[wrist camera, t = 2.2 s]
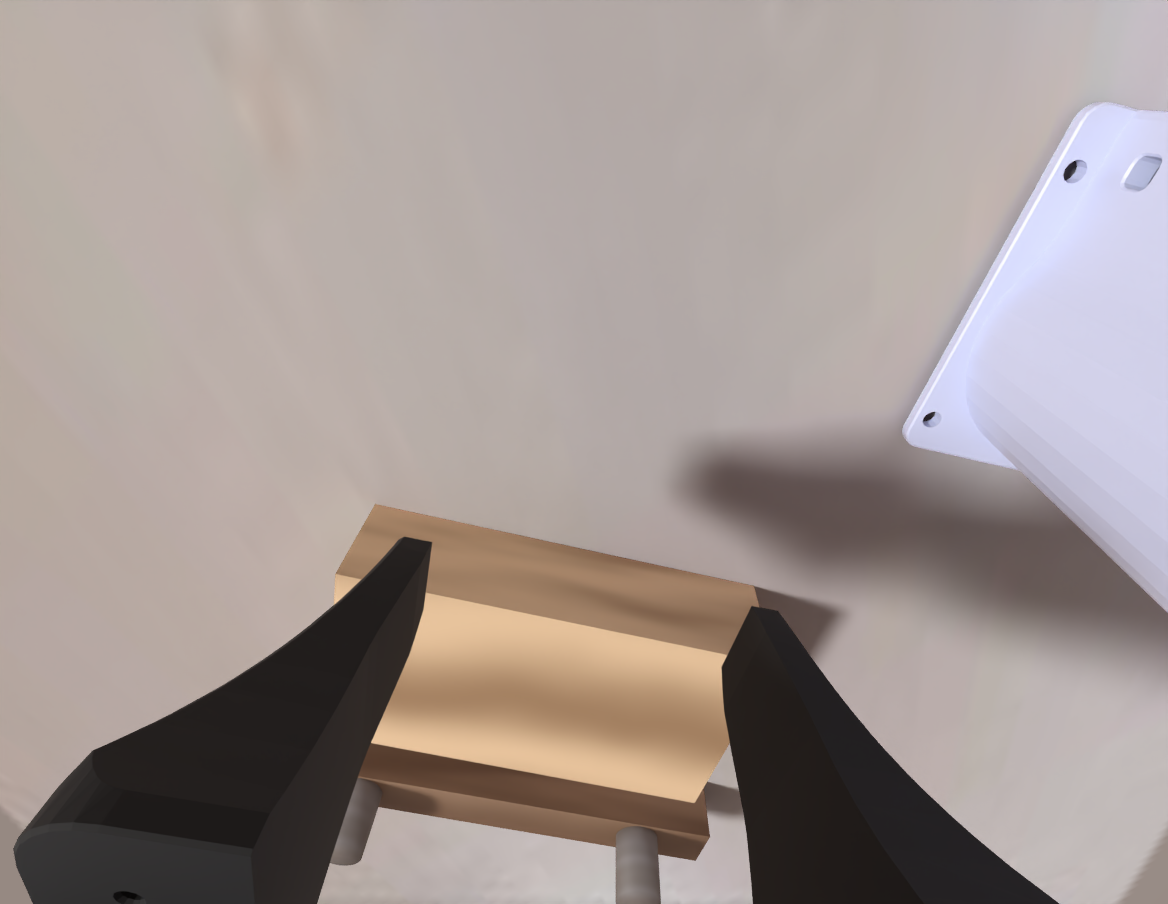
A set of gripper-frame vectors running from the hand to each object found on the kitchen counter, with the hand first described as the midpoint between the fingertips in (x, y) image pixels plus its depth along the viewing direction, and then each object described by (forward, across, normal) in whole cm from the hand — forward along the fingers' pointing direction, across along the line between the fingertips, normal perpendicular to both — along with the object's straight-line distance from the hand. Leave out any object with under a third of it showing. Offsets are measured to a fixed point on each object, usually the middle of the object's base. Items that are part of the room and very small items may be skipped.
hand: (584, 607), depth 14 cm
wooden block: (+8, 0, +8) cm, 12 cm away
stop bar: (+8, 0, +18) cm, 19 cm away
